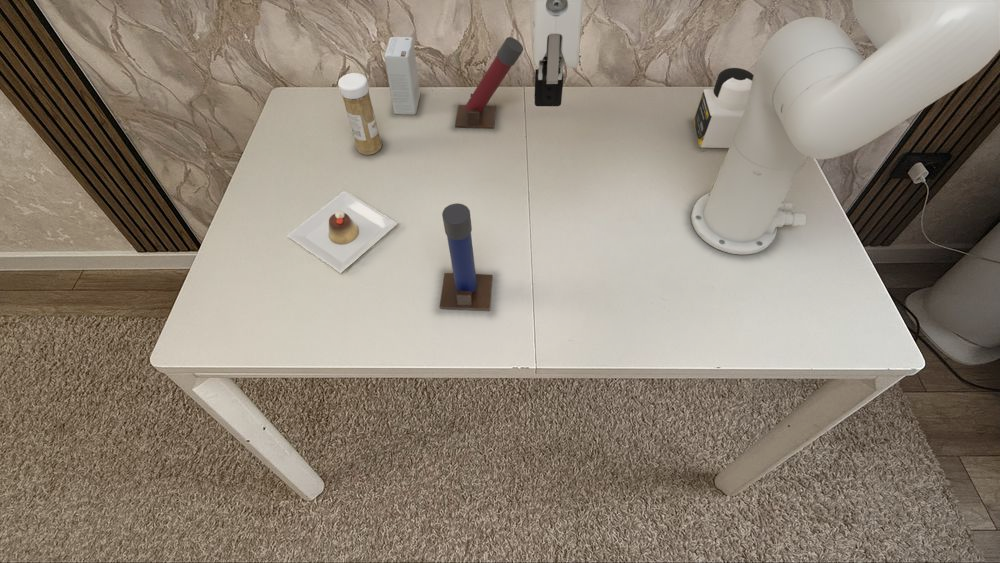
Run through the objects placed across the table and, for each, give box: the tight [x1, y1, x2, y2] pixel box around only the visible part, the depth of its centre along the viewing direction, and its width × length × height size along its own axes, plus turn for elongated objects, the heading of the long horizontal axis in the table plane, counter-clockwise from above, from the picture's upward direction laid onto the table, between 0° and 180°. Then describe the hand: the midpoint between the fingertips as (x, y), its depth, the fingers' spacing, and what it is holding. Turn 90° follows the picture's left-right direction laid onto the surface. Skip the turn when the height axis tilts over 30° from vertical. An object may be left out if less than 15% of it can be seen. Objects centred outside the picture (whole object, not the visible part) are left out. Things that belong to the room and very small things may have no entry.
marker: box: [441, 202, 477, 293], centre depth 72 cm, size 3×3×15 cm
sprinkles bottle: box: [337, 72, 383, 156], centre depth 92 cm, size 5×5×14 cm
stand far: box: [454, 93, 497, 130], centre depth 101 cm, size 7×6×3 cm
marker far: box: [465, 36, 524, 114], centre depth 96 cm, size 3×3×15 cm
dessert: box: [286, 190, 398, 274], centre depth 84 cm, size 12×12×5 cm
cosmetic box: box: [384, 36, 421, 116], centre depth 100 cm, size 6×4×12 cm
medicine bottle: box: [692, 67, 754, 149], centre depth 94 cm, size 7×7×12 cm
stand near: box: [439, 272, 494, 312], centre depth 78 cm, size 7×6×3 cm
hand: (547, 102), depth 68 cm, fingers closed
